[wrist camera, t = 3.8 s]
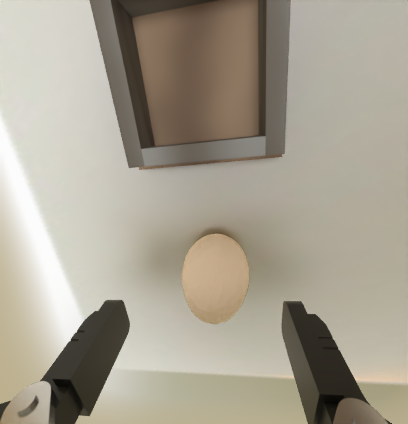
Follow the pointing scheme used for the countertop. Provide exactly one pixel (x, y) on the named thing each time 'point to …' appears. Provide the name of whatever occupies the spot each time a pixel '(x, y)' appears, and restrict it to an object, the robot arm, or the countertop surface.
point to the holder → (196, 78)
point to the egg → (215, 278)
